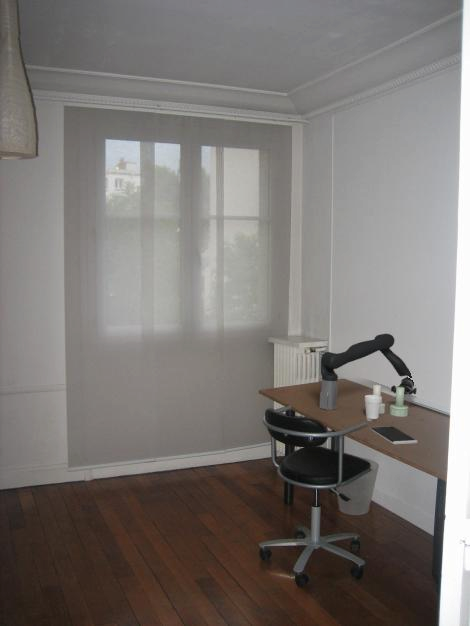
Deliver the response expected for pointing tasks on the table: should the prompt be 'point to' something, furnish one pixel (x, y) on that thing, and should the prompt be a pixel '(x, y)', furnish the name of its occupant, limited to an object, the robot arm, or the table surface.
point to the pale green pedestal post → (399, 404)
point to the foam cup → (372, 406)
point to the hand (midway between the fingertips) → (402, 392)
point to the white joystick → (378, 392)
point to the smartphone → (393, 435)
